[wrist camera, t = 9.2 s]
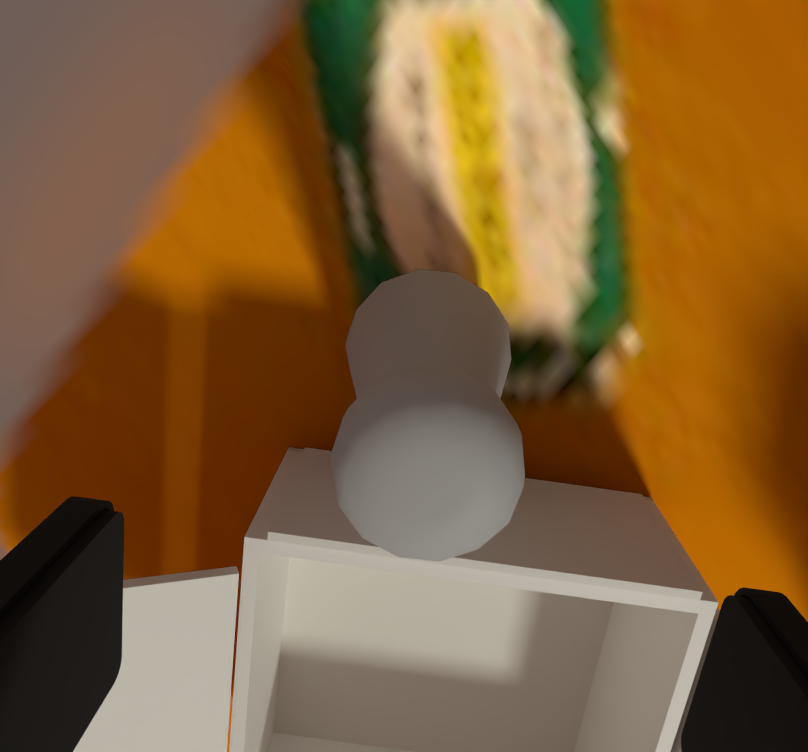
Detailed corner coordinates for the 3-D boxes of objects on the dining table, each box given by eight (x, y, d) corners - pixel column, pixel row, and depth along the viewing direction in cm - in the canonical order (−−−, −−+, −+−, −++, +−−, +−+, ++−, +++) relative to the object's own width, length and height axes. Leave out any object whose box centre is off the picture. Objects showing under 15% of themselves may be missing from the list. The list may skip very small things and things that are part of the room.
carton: (290, 434, 28) (242, 528, 21) (667, 487, 28) (746, 597, 21) (262, 743, 33) (216, 902, 26) (584, 787, 33) (625, 958, 26)
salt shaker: (385, 423, 28) (346, 639, 15) (330, 291, 26) (239, 412, 14) (524, 376, 27) (602, 563, 15) (476, 237, 25) (518, 314, 13)
